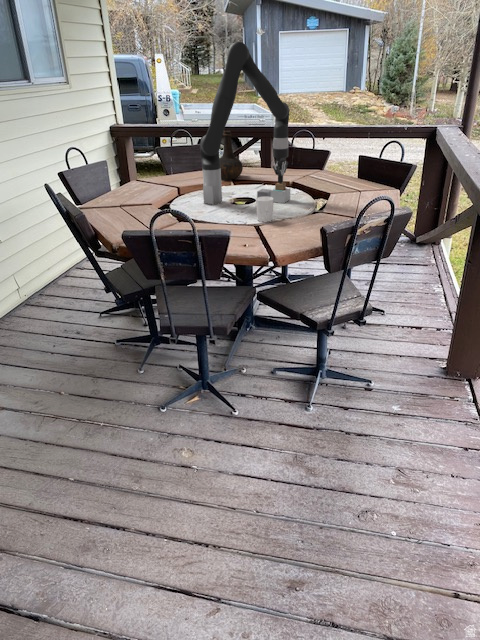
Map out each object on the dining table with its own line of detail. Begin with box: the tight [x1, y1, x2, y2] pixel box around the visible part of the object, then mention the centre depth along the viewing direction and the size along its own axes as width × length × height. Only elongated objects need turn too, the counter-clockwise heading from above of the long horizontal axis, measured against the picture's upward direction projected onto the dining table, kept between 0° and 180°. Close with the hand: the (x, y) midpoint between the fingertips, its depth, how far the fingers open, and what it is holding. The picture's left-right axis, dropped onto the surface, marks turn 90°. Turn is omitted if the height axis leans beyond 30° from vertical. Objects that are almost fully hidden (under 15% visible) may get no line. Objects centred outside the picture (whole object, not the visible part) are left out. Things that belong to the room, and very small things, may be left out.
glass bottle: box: [219, 130, 244, 181], centre depth 297 cm, size 18×18×28 cm
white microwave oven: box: [270, 187, 291, 204], centre depth 251 cm, size 8×8×6 cm
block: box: [274, 182, 287, 191], centre depth 251 cm, size 4×4×9 cm
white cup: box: [255, 196, 274, 222], centre depth 222 cm, size 8×8×10 cm
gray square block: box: [256, 188, 272, 198], centre depth 256 cm, size 6×6×4 cm
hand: (280, 182), depth 248 cm, fingers closed
